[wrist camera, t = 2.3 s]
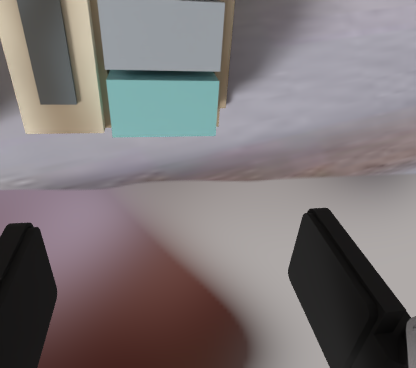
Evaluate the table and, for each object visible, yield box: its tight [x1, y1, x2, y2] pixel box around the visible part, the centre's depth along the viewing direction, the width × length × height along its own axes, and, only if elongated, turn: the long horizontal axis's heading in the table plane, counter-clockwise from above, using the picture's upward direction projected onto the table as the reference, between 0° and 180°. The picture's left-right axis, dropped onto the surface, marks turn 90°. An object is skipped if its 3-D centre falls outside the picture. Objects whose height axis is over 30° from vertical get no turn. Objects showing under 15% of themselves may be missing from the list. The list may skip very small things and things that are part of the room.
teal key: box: [106, 70, 219, 137], centre depth 23 cm, size 7×4×5 cm, turn 87°
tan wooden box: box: [0, 0, 235, 134], centre depth 23 cm, size 16×15×6 cm
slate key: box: [97, 0, 225, 72], centre depth 21 cm, size 7×4×5 cm, turn 87°
